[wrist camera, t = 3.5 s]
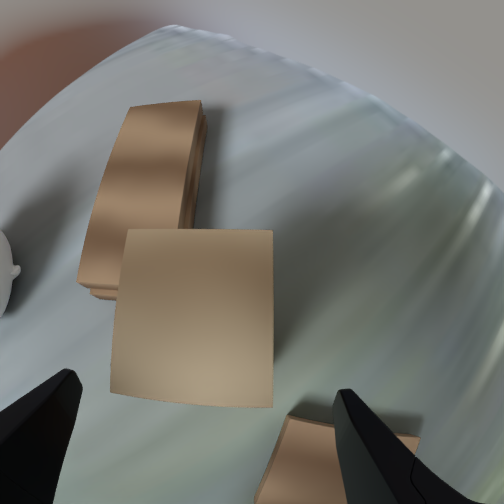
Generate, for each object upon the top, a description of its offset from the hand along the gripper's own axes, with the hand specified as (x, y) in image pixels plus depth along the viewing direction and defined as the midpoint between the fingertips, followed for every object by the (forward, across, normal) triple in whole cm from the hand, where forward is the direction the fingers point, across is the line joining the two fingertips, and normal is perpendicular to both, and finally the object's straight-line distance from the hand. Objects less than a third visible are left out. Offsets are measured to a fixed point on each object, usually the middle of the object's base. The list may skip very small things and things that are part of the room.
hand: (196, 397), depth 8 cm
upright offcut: (+9, 0, +6) cm, 11 cm away
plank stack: (+17, +6, -2) cm, 18 cm away
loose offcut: (+2, -8, +12) cm, 15 cm away
